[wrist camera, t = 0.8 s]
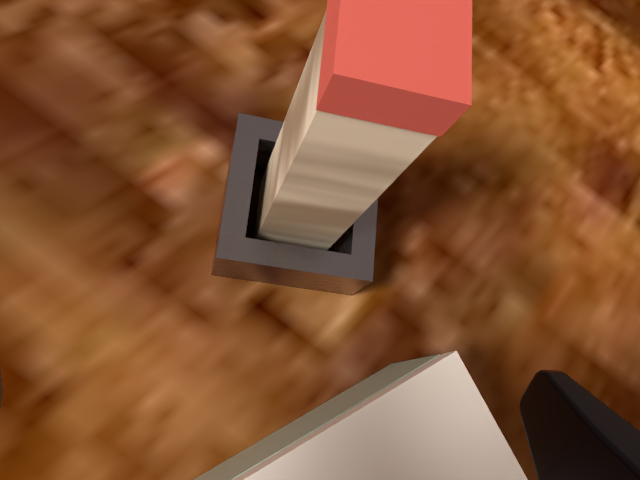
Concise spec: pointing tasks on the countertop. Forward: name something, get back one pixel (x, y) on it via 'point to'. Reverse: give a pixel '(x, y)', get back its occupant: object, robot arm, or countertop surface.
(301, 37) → the countertop surface
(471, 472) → the toolbox lid
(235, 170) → the key socket
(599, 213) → the countertop surface
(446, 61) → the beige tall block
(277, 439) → the toolbox
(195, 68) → the countertop surface
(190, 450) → the countertop surface
